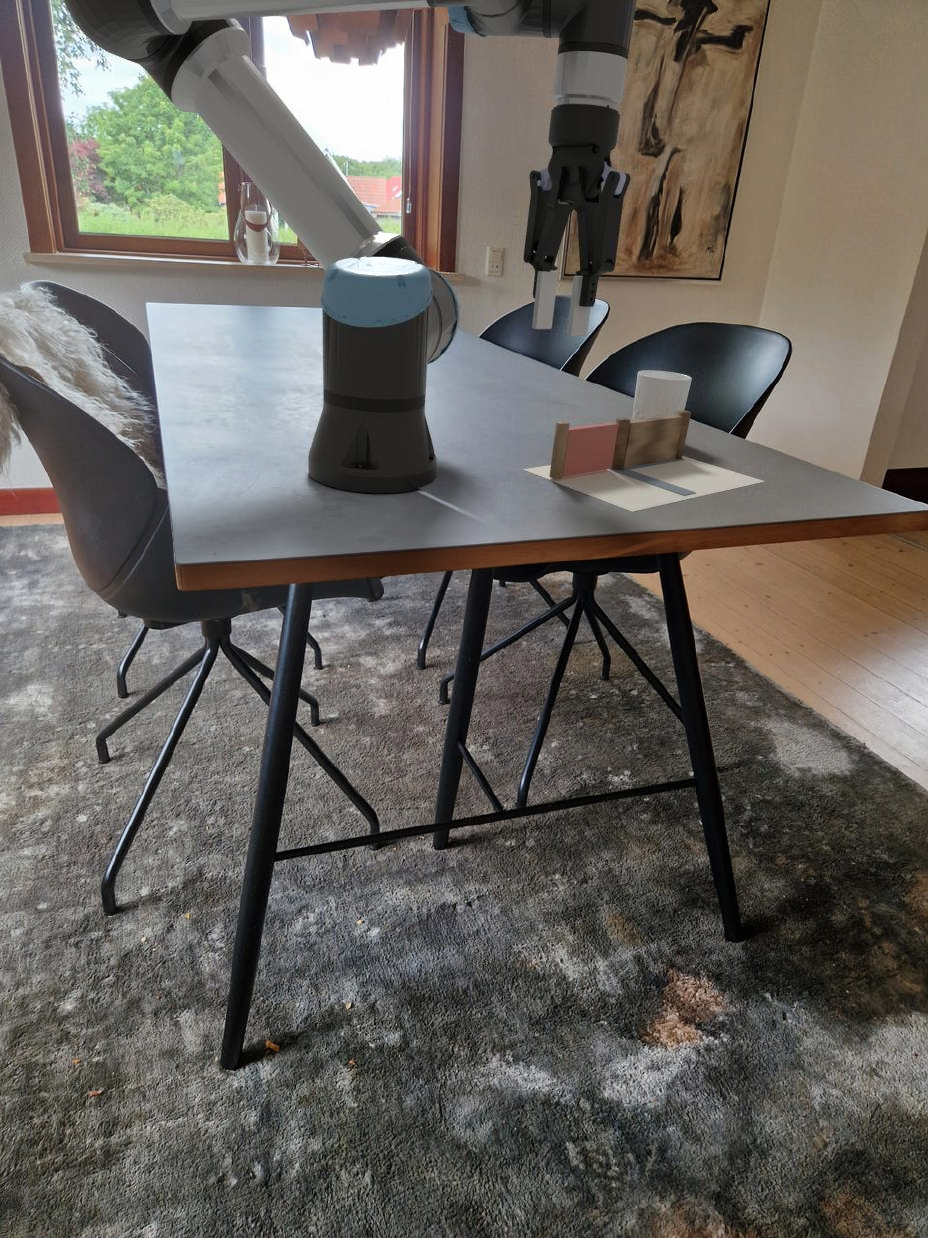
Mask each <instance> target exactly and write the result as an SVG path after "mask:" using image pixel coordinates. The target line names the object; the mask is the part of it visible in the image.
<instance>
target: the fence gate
mask: <svg viewBox="0 0 928 1238" xmlns="http://www.w3.org/2000/svg"><path fill="white" fill-rule="evenodd" d="M618 425H619V424H617V423H616V422H614V421H613V422H605V423H596V424H588V425H580V426H572V427H570V422H567V421H556V422H555V428H554V438H553V446H552V453H551V460H550V465H551V468H550V475H549V476H550V477H551V478H555V479H561V478H562V477H567V476H573V475H578V474H584V473H590V472H596V471H601V470H607V469H611V468H612V462H613V456H614V450H615V443H616V437H617V431H618Z"/></svg>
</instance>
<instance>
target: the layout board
mask: <svg viewBox="0 0 928 1238" xmlns="http://www.w3.org/2000/svg"><path fill="white" fill-rule="evenodd" d="M550 468H551V464H549V465H543V466H535V467H530V468H523V469H522V470H523V471H525V472H528V473H530V474H532V475H535V476H538V477H540V478H543V479H545V480H548V481H550V482H553V483H555V484H558V485H561V486H563V487H567V488H569V489H571V490H574V491H577V492H579V493H582V494H585V495H588V496H589V497H591V498H594V499H597V500H599V501H603V502H605V503H608V504H610V505H613V506H615V507H617V508H620V509H623V510H625V511H628V512H631V513H634V512H638V511H643V510H648V509H652V508H657V507H660V506H665V505H669V504H673V503H677V502H681V501H687V500H691V499H695V498H701V497H704V496H709V495H715V494H717V493H722V492H726V491H730V490H735V489H740V488H743V487H744V488H745V487H748V486H752V485H757V484H761V483H765V482H766V481H765V480H762V479H758V478H755V477H753V476H749V475H747V474H743V473H740V472H737V471H733V470H730V469H726V468H723V467H720V466H717V465H714V464H710V463H707V462H704V461H701V460H697V459H693V458H690V457H687V456H684V455H683V456H682V459H673V460H667V461H661V462H655V463H650V464H644V465H638V466H633V467H627V468H622V470H613V469H607V470H601V471H596V472H590V473H584V474H578V475H573V476H567V477H562V478H561V479H555V478H551V477H550V476H549V475H550Z"/></svg>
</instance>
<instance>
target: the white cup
mask: <svg viewBox="0 0 928 1238" xmlns="http://www.w3.org/2000/svg"><path fill="white" fill-rule="evenodd" d="M692 380H693V378H692V377H691V376H689V375H686V374H684V373H683V374H682V373H677V372H673V371H665V370H656V369H655V370H654V369H653V370H649V369H647V370H645V369H644V370H639V371H638V372H637V377H636V383H635V384H636V386H635V390H634V391H635V392H634V399H633V400H634V401H633V407H632V408H633V409H632V418H631V421H634V420H642V419H650V418H658V417H666V416H674V415H677V413H678V411H679V410H683V411H685V410H686V409H685V408H686V404H687V401H688V396H689V391H690V388H691V384H692V383H691V382H692Z"/></svg>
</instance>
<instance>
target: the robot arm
mask: <svg viewBox="0 0 928 1238" xmlns="http://www.w3.org/2000/svg"><path fill="white" fill-rule="evenodd" d="M63 2H64V3H65V4H64V5H65V6H66V8H67V11H68V13H69V14H70V16H71V18H72V20H73V21H74V23H75V25H77V27H78V28H79V30H81V32H82V33H83V34H84V35H85V37H87V39H89V40H90V41H91V42H93V44H94V45H96V46H98V47H99V48H101V49H102V50H103V51H105V52H107V53H109V54H112V55H114V56H116V57H119V58H122V59H124V60H127V61H128V62H132V63H134V64H137V65H139V66H140V67H142V68H143V69H144V70H145V71H146V73H147V74H148V75H149V76H150V77H151V78H152V79H153V81H154V82H155V83H156V85H157V86H158V87H159V89H161V90H162V92H163V93H164V94H165V96H166V97H167V98H168V99H169V100H170V102H171V103H172V104H173V105H174V107H176V109H178V110H179V111H180V112H184V113H192V114H193V113H194V114H195V113H196V114H198V116H199V117H200V118H201V119H202V120H203V122H204V123H205V124H206V125H207V126H208V128H209V129H210V131H211V132H212V133H213V134H214V135H215V136H216V138H217V139H218V141H220V143H221V144H222V145H223V147H224V148H225V149H226V150H227V152H228V153H229V154H230V155H231V156H232V158H233V159H234V160H235V162H236V163H237V164H238V165H239V166H240V168H241V169H242V171H244V172H245V174H246V175H247V176H248V177H249V179H250V180H251V181H252V182H253V184H254V185H255V186H256V187H257V189H258V190H259V192H260V193H262V195H263V196H264V197H265V198H266V200H267V201H268V202H269V204H270V205H271V206H272V207H273V208H274V210H275V211H276V212H277V213H278V214H279V216H280V218H282V219H283V221H284V223H286V225H287V226H288V227H289V228H290V230H291V231H292V232H293V233H294V234H295V235H296V237H297V238H298V239H299V241H300V242H301V243H302V244H303V246H304V247H305V248H306V249H307V250H308V252H309V253H310V254H311V255H312V256H313V258H314V259H315V260H316V261H317V263H318V264H319V265H320V266H321V268H322V269H323V270H324V275H323V282H322V283H323V287H322V290H321V297H320V302H321V307H322V380H323V382H322V384H323V385H322V389H323V390H322V391H323V393H322V394H323V396H322V397H323V405H322V411H321V413H320V417H319V420H318V423H317V426H316V429H315V432H314V435H313V439H312V442H311V446H310V448H309V451H308V475H309V476H310V477H311V478H312V479H313V480H315V481H316V482H318V483H320V484H323V485H325V486H328V487H332V488H334V489H340V490H343V491H345V490H346V491H350V492H357V493H358V492H359V493H370V494H371V493H372V494H389V493H391V494H392V493H393V494H394V493H404V492H411V491H416V490H419V489H421V488H422V487H426V486H428V485H430V484H431V483H433V482H435V480H436V478H437V466H438V465H437V464H438V463H437V462H438V461H437V456H436V453H435V448H434V445H433V441H432V437H431V432H430V427H429V424H428V421H427V417H426V396H427V395H426V394H427V380H428V379H427V378H428V376H427V375H428V365H430V364H433V363H434V362H436V361H437V360H438V359H439V358H440V357H441V356H442V355H444V354H445V353H446V352H447V350H449V348H450V346H451V345H452V343H453V341H454V340H455V337H456V335H457V332H458V330H459V329H458V328H459V327H460V318H461V317H460V305H459V300H458V297H457V294H456V292H455V291H454V289H453V287H452V285H451V284H450V282H449V281H448V280H447V278H446V277H444V276H443V275H441V274H440V273H439V272H438V271H435V270H434V268H431V267H428V266H427V264H426V263H425V262H424V261H423V258H421V256H420V255H419V254H418V252H417V251H416V250H415V248H413V246H412V245H411V244H410V242H409V241H408V240H407V239H406V237H405V236H404V235H403V234H401V233H392V232H389V233H388V232H386V231H385V230H384V229H383V228H382V227H381V226H380V224H379V223H378V222H377V220H376V219H375V218H374V217H373V215H372V214H371V213H370V211H369V210H368V208H366V206H365V205H364V204H363V203H362V202H361V200H360V199H359V198H358V196H357V195H356V193H355V192H354V191H353V189H352V188H351V187H350V186H349V184H348V183H347V182H346V181H345V180H344V178H343V177H342V175H340V173H339V171H338V170H337V169H336V168H335V167H334V166H333V165H334V164H332V163H331V162H330V160H329V159H328V158H327V156H326V155H325V154H324V152H323V151H322V150H321V149H320V147H319V146H318V145H317V144H316V142H314V139H313V138H312V137H311V136H310V135H309V133H308V132H307V131H306V129H305V128H304V127H303V125H302V124H301V123H300V122H299V120H298V119H297V118H296V117H295V115H294V113H292V111H291V110H290V109H289V108H288V106H287V105H286V103H284V100H282V99H281V97H280V96H279V94H278V93H277V92H276V90H274V87H272V86H271V84H270V83H269V82H268V81H267V79H266V78H265V77H264V75H263V74H262V73H261V71H260V70H259V69H258V67H256V65H255V63H253V61H252V60H251V48H252V47H251V44H252V43H251V39H250V36H249V34H248V32H246V30H245V29H244V28H243V27H242V25H241V23H239V21H238V20H237V19H247V18H248V19H249V18H250V19H251V18H263V17H265V18H266V17H281V16H299V15H314V14H316V15H317V14H333V13H337V14H338V13H350V12H351V13H354V12H370V11H384V10H385V11H386V10H388V11H389V10H390V11H391V10H402V9H403V10H405V9H423V8H446V10H447V14H448V20H449V24H450V25H451V28H452V29H453V30H454V31H455V32H457V33H461V34H469V35H477V36H478V37H480V38H486V37H489V36H491V37H492V36H496V37H520V38H521V37H522V38H523V37H525V38H528V37H529V38H545V39H558V48H557V54H556V55H557V57H556V64H555V71H554V72H555V73H554V81H553V89H552V99H553V100H554V102H556V103H557V105H554V106H553V108H552V109H551V110H550V112H551V113H550V119H549V121H550V122H549V129H548V138H547V139H548V141H547V142H548V143H549V145H550V146H551V148H552V154H551V155H550V156H551V157H550V159H549V162H548V165H547V167H545V168H543V169H541V170H535V169H533V170H531V171H530V173H529V187H530V196H529V199H530V200H529V207H528V216H527V222H526V223H527V225H526V232H525V233H526V234H525V238H524V239H525V240H524V250H523V258H522V259H523V262H524V263H525V264H530V265H531V266H532V268H533V270H534V278H533V279H534V280H533V289H532V299H534V304H533V305H534V306H533V313H532V314H533V315H532V323H531V324H532V325H531V328H532V329H534V330H552V327H553V320H554V310H555V303H556V294H557V288H558V287H557V285H558V278H559V272H558V271H557V270H558V269H559V267H558V266H557V265H555V264H556V260H557V258H558V255H559V251H560V249H561V248H560V247H561V244H562V242H563V241H562V240H563V237H564V235H565V231H566V228H567V224H568V222H569V221H568V220H569V217H570V215H571V213H573V211H575V212H576V218H577V221H576V222H577V236H578V237H577V238H578V255H579V256H578V257H579V270H577V271H575V275H574V276H573V280H572V287H571V289H572V290H571V297H570V305H569V312H568V320H567V327H566V328H567V329H566V336H568V337H587V336H588V331H589V330H588V329H589V323H590V322H589V321H590V313H591V308H593V307H594V306H595V304H596V298H597V290H598V285H599V284H598V283H599V279H600V277H601V276H602V275H604V274H607V273H613V272H614V271H615V269H616V268H615V267H616V263H617V253H618V247H619V239H620V231H621V222H622V213H623V209H624V208H623V206H624V198H625V195H626V193H627V190H628V187H629V186H630V182H631V175H630V173H627V172H622V171H618V170H616V169H615V168H613V163H612V161H611V152H612V151H613V150H615V148H616V146H617V141H618V136H619V134H618V133H619V128H620V119H621V114H620V113H619V112H620V111H618V109H616V107H618V106H620V104H622V103H623V95H624V88H625V82H626V76H627V75H626V74H627V67H628V61H629V59H628V58H629V52H630V46H631V40H632V33H633V27H634V20H635V16H636V15H635V13H636V7H637V0H63Z"/></svg>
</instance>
